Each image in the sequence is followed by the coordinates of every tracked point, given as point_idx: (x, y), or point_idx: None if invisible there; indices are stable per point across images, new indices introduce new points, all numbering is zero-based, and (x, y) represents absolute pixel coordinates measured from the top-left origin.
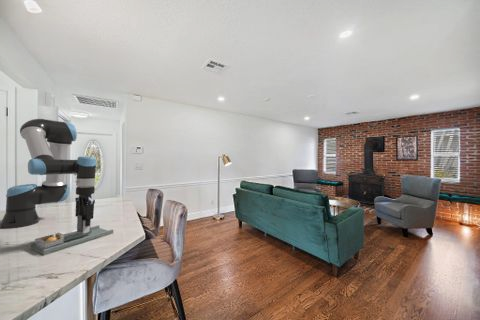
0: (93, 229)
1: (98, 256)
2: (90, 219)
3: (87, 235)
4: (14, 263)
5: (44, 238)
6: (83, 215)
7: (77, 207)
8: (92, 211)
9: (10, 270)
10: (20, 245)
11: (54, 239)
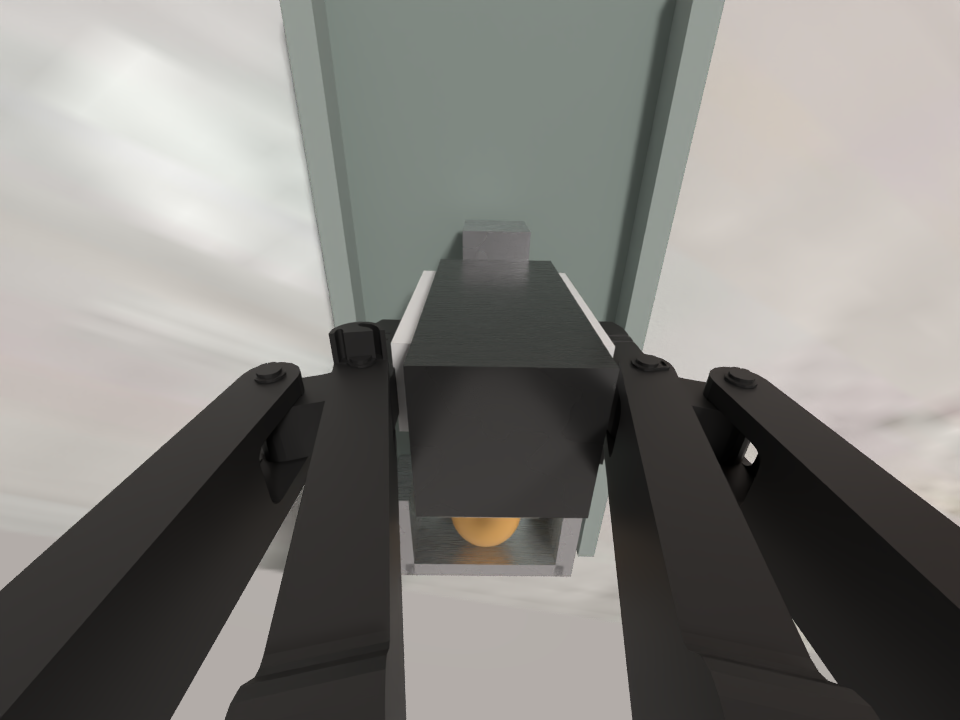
0: (333, 78)
1: (951, 405)
2: (584, 318)
3: None
4: (547, 593)
5: (413, 533)
6: (574, 490)
7: (199, 643)
8: (899, 519)
9: (611, 611)
10: (280, 531)
11: (516, 520)
